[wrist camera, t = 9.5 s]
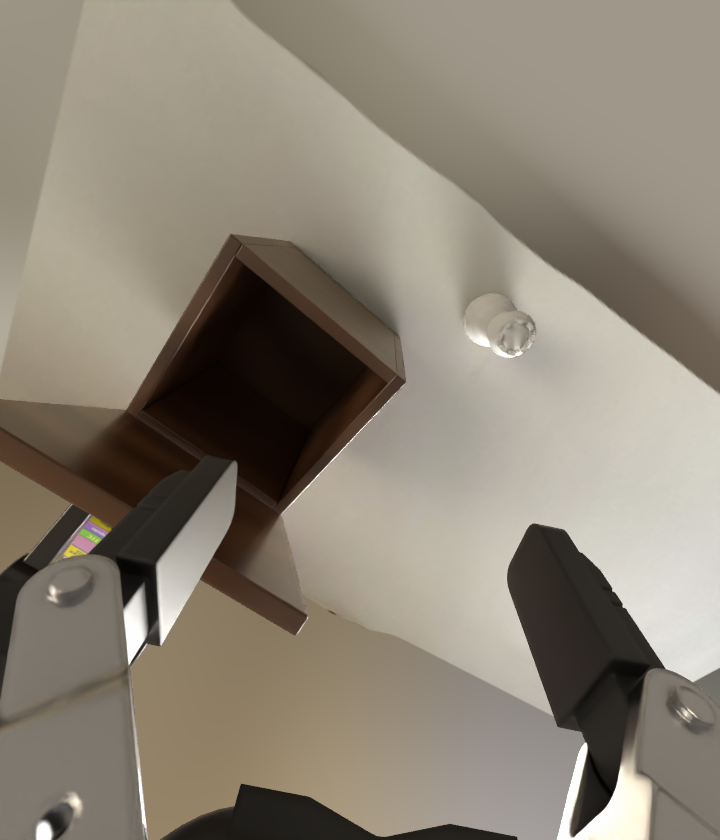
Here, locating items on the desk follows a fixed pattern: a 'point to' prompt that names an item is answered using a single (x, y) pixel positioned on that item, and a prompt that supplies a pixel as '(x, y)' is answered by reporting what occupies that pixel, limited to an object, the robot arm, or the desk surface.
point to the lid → (127, 485)
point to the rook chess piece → (499, 325)
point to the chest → (270, 369)
